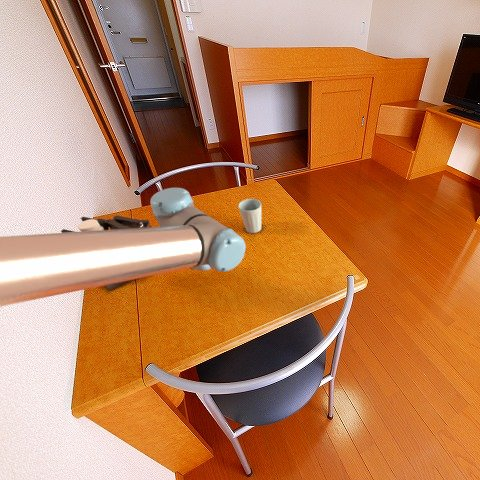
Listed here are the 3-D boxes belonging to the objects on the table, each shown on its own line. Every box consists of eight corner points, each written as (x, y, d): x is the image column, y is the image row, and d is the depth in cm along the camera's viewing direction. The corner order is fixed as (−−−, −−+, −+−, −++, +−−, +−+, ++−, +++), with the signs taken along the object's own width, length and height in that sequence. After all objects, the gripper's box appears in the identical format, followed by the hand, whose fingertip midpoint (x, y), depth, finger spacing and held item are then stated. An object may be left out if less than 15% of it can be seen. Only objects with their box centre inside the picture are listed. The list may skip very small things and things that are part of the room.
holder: (108, 290, 77) (102, 282, 75) (101, 270, 83) (95, 262, 81) (147, 273, 82) (142, 265, 80) (137, 255, 88) (133, 247, 86)
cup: (242, 223, 103) (238, 199, 96) (263, 221, 104) (260, 197, 97) (242, 236, 97) (238, 211, 90) (264, 233, 98) (261, 209, 92)
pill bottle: (107, 255, 71) (91, 230, 66) (89, 254, 71) (71, 229, 66) (118, 243, 75) (103, 218, 69) (100, 242, 75) (84, 217, 69)
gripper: (133, 282, 62) (50, 262, 66) (182, 233, 75) (110, 219, 79) (118, 258, 57) (29, 238, 61) (173, 211, 70) (97, 197, 74)
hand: (75, 227), depth 70 cm, fingers closed on pill bottle, 5 cm apart
